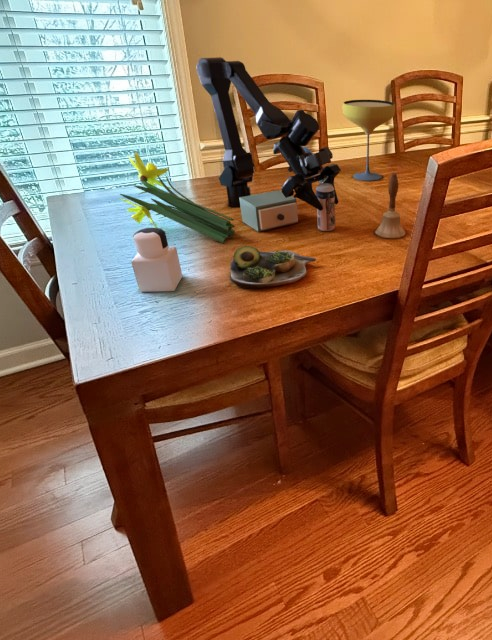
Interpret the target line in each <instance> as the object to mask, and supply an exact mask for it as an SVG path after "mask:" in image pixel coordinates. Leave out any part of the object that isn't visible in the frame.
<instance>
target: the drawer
mask: <svg viewBox="0 0 492 640" xmlns="http://www.w3.org/2000/svg"><path fill="white" fill-rule="evenodd" d="M298 212H299V211H298V202H297V203H295V202H293V203H291V202H290V203H285V204H280V205H275V206H270V207H265V208H261V209H258V214H259V223H260V229H262V230H263V229H268V228H272V227H276V226H280V225H285V224H289V223H293V222H297V221H298V222H299V214H298Z"/></svg>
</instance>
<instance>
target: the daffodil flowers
mask: <svg viewBox="0 0 492 640" xmlns="http://www.w3.org/2000/svg"><path fill="white" fill-rule="evenodd" d="M127 158H128V160H129V162H130V163H131V165H132V167H134V168H135V170H137V171H138V177H137V178H138V180H139V182H140V183H141V184H142V186H141V185H133V187H135V188H136V189H139V190H140V191H142V192H139V193H137V194H136V196H138V195H143V194H146V193H148V194H150V195H153V196H155V197H156V198H158V199H159V201H158V200H157V199H154V198H150V200H151V201H152V202H153V203H150V202H147V201H144V200H142V199H139V198H136V197H133V196H130V195H127V194H123V193H119V195H120V196H121V197H123V198H118V197H117V199H118V200H120V201H123V202H124V203H128V204H130V205H132V206H133V207H129V208H128V209H126V212H129V213H134V214H132V215H131V216H130V218H131V219H133V220H134V221H136V223H138V224H139V225H140V224H142V223H141V222H142V221H143V219H144V218H145V216H146V217H147V218H148V219H149V222H150V223H151V224H153V225H154V228H159V227H158V226H157V224H156V223H155V221H153V218H152V214H151V212H150V211H152V212H154V213H156V214H155V216H160V215H161V217H159V218H158V219H159V220H160V219H163V218H164V219H165V218H167V219H169V220H172V221H174V222H176V223H178V224H180V225H182V226H184V227H187V228H188V229H191V230H193V231H195V232H197V233H199V234H202V235H204V236H206V237H208V238H210V239H212V240H215V241H217V242H218V243H221V244H224V243H225V242H226V240H227V238H231V239H232V237H233V235H234V234H235V232H236V230H235V229H233V228H235V227H236V226H235V224H233V223H231V221H234V220H235V219H234V218H232V217H230V216H227V215H225V214H222V213H220V212H218V211H215V210H213V209H210V208H209V207H206V206H203V205H200V204H198V203H195V202H194V201H192V200H191V199H189V198H188V197H187V196H185V195H184V194H182V193H181V192H180V191H178V190H177V189H176V188H175V187H174V186H173V185H172V183H171V182H170V179H169V178H168V176H167V174H166V173H167V172H169V170H170V169H169V168H161V169H160V168H159V169H158V167H157V165H155V163H153V162H147V164H146V165H145V163H144V162H143V160H142V157H140V155H139V153H138V151H136V150H135V152H134V160H133V158H131V157H130V156H128V155H127ZM164 174H165V179H166V181H167V183H168V185H169V186H167V185H166V183H165V182H164V181H163V180H162V178H161V177H160V176H162V175H164ZM157 178H158V179H157ZM156 185H157V186H160V187H164V189H165V190H167V191H165V190H164V189H161V188H160V187H157V186H156ZM172 190H173V191H172ZM160 200H161V201H163V202H164V203H163V202H161V201H160ZM165 203H166V204H165Z"/></svg>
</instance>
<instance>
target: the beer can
mask: <svg viewBox="0 0 492 640" xmlns="http://www.w3.org/2000/svg"><path fill="white" fill-rule="evenodd" d="M334 187H335V186H334ZM334 187H333V185H332V184H328V183H322V184H320V183H318V184H317V186H316V189H315V195H316V196H317V198H318V199H319V201H320V203H321V205H322V207H323V210H322V211H320V210H318V209H316V216H317V217H316V218H317V229H318V230H319V231H322V232H332V231H333V230H335V229H336V204H335V194H334Z"/></svg>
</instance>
